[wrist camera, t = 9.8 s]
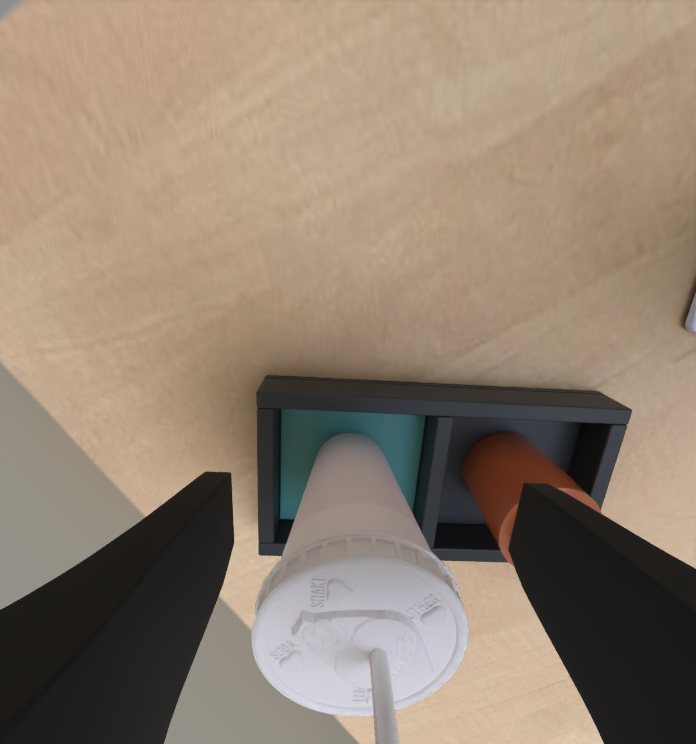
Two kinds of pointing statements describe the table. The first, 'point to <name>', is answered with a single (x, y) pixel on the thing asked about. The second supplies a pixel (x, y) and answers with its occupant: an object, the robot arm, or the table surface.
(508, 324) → the table surface
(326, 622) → the smoothie
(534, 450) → the spice pot
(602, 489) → the holder
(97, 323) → the table surface
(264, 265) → the table surface
